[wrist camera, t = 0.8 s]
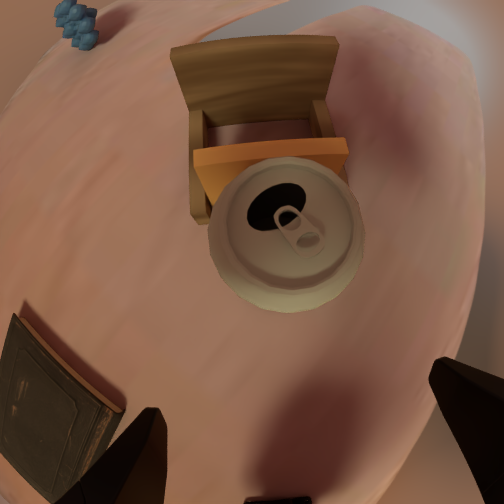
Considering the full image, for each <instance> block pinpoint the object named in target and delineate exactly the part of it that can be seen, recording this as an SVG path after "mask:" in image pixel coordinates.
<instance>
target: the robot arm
mask: <svg viewBox="0 0 504 504" xmlns="http://www.w3.org/2000/svg"><path fill="white" fill-rule="evenodd" d="M428 380H429V384H430V386H431V389H432V391H433V393H434V395H435V398H436V400H437V402H438V405H439V407H440V410H441V412H442V414H443V416H444V418H445V420H446V422H447V424H448V426H449V427H450V429H451V431H452V433H453V435H454V437H455V439H456V441H457V443H458V445H459V447H460V449H461V451H462V453H463V455H464V457H465V459H466V461H467V463H468V466H469V468H470V470H471V472H472V474H473V476H474V478H475V481H476V483H477V485H478V488H479V490H480V492H481V495H482V497H483V500H484V502H485V504H504V379H502V378H500V377H497V376H495V375H492V374H489V373H487V372H484V371H481V370H479V369H476V368H474V367H471V366H468V365H466V364H463V363H461V362H458V361H456V360H453V359H451V358H448V357H441V358H438V359H436V360H435V361H434V363H433V366H432V369H431V372H430V374H429V378H428ZM166 479H167V424H166V422H165V420H164V417H163V415H162V413H161V411H160V409H159V408H156V407H147V408H145V409H144V410H143V411H142V412H141V413H140V414H139V415H138V416H137V417H136V418H135V420H134V421H133V422H132V423H131V424H130V425H129V426H128V427H127V428H126V429H125V431H124V432H123V433H122V434H121V435H120V436H119V437H118V438H117V439H116V440H115V441H114V443H113V444H112V445H111V446H110V447H109V448H108V449H107V450H106V451H105V452H104V453H103V454H102V455H101V457H100V458H99V459H98V460H97V461H96V462H95V463H94V464H93V465H92V466H91V467H90V468H89V469H88V470H87V471H86V472H85V474H84V475H83V476H82V477H81V478H80V481H79V480H78V481H77V482H76V483H75V484H74V485H73V486H72V487H71V488H70V489H69V490H68V491H67V492H66V493H65V494H64V495H63V496H62V497H61V498H59V499H58V500H57V501H56V502H55V503H53V504H164V496H165V487H166ZM306 500H308V501H306ZM244 504H312V501H311V498H310V497H308V496H306V497H299V498H292V499H283V500H273V501H259V502H245V503H244Z"/></svg>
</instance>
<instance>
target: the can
mask: <svg viewBox="0 0 504 504" xmlns="http://www.w3.org/2000/svg"><path fill="white" fill-rule="evenodd" d="M208 238H209V247H210V255H211V257H212V259H213V261H214V264H215V266H216V268H217V270H218V272H219V274H220V277H221V278H222V279H223V280H224V281H225V282H226V283H227V284H228V286H229V287H230V288H231V289H232V290H233V291H234V292H235V293H236V294H237V295H238V296H239V297H241V298H243V299H245V300H246V301H248V302H250V303H252V304H254V305H256V306H258V307H260V308H261V309H266V310H272V311H278V312H284V313H293V312H299V311H305V310H311V309H315V308H317V307H319V306H321V305H323V304H325V303H326V302H328V301H330V300H332V299H334V298H336V297H337V296H338V295H339V294H340V293H341V292H342V291H343V290H344V288H345V287H346V286H347V285H348V284H349V283H350V282H351V281H352V280H353V278H354V276H355V274H356V272H357V269H358V267H359V265H360V262H361V260H362V258H363V252H364V241H365V230H364V225H363V221H362V217H361V213H360V209H359V205H358V202H357V200H356V198H355V197H354V195H353V193H352V192H351V190H350V188H349V187H348V185H347V184H346V183H345V182H344V181H343V180H342V179H341V178H340V177H339V176H338V175H337V174H335V173H334V172H333V171H332V170H331V169H329V168H327V167H325V166H323V165H321V164H319V163H317V162H315V161H313V160H310V159H305V158H299V157H294V156H284V157H275V158H268V159H265V160H263V161H261V162H258V163H256V164H254V165H251V166H249V167H248V168H246V169H245V170H244V171H242V172H241V173H240V174H239V175H238V176H237V177H235V178H234V179H233V180H232V181H231V182H230V183H228V184H227V185H226V186H225V187H224V189H223V191H222V192H221V194H220V196H219V197H218V199H217V201H216V202H215V204H214V206H213V209H212V213H211V217H210V222H209V226H208Z"/></svg>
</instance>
